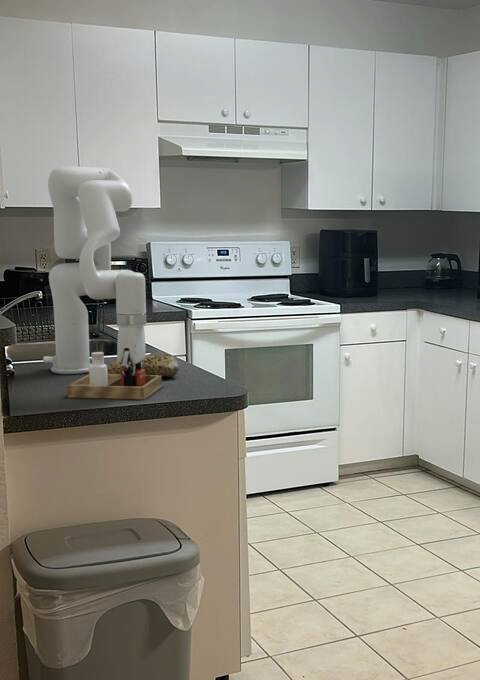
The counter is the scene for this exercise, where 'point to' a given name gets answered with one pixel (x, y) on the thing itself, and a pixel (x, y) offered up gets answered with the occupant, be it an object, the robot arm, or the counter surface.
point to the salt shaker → (98, 370)
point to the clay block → (137, 377)
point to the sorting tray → (114, 388)
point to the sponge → (152, 365)
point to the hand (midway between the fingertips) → (133, 387)
